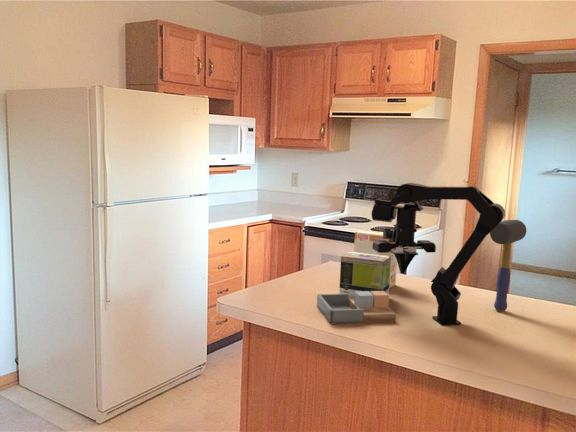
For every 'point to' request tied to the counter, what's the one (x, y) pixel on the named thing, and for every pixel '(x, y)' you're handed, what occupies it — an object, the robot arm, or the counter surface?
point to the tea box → (364, 273)
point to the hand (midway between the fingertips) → (402, 273)
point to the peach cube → (380, 299)
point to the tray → (338, 309)
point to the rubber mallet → (505, 256)
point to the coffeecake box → (365, 245)
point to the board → (374, 313)
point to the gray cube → (363, 299)
